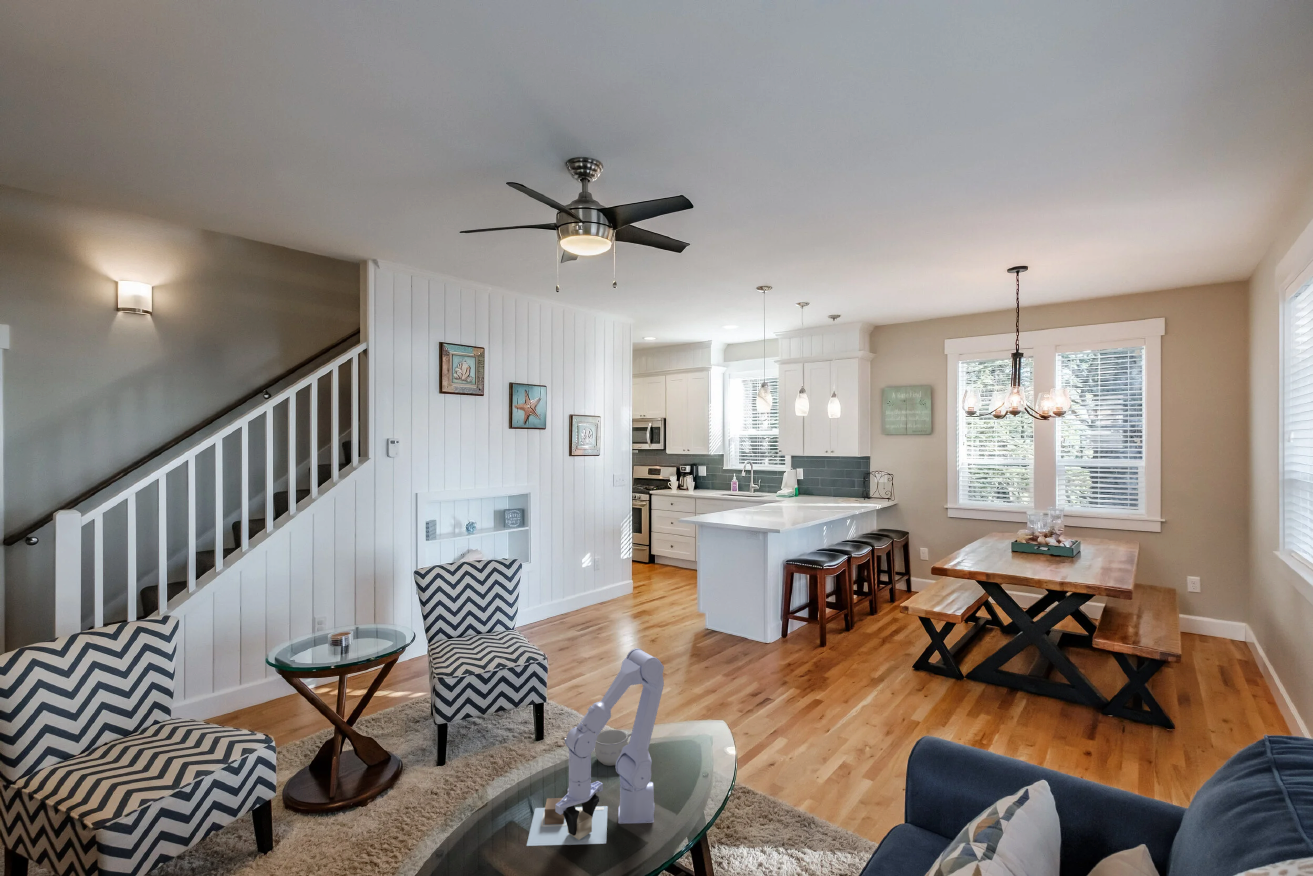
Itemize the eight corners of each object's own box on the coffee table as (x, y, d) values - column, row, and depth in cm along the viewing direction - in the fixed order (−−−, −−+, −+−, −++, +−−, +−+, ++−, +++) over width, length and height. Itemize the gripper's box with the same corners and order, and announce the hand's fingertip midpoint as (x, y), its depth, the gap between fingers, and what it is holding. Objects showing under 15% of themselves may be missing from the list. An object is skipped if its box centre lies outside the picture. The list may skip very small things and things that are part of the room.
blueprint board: (607, 808, 173) (607, 805, 173) (606, 845, 157) (606, 843, 157) (535, 810, 172) (535, 807, 172) (526, 848, 156) (526, 845, 156)
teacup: (597, 771, 192) (597, 746, 192) (591, 754, 202) (591, 730, 202) (640, 765, 196) (641, 740, 196) (633, 749, 206) (633, 725, 206)
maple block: (580, 824, 164) (580, 809, 164) (591, 831, 161) (591, 816, 161) (567, 832, 160) (567, 817, 160) (578, 840, 157) (578, 824, 157)
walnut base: (565, 812, 170) (565, 798, 170) (563, 824, 165) (563, 808, 165) (546, 813, 169) (547, 798, 169) (544, 824, 164) (544, 809, 164)
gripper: (590, 760, 169) (590, 810, 169) (547, 782, 158) (547, 835, 158) (608, 769, 164) (608, 821, 164) (565, 793, 153) (565, 848, 153)
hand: (579, 829), depth 160 cm, fingers closed on maple block, 4 cm apart
